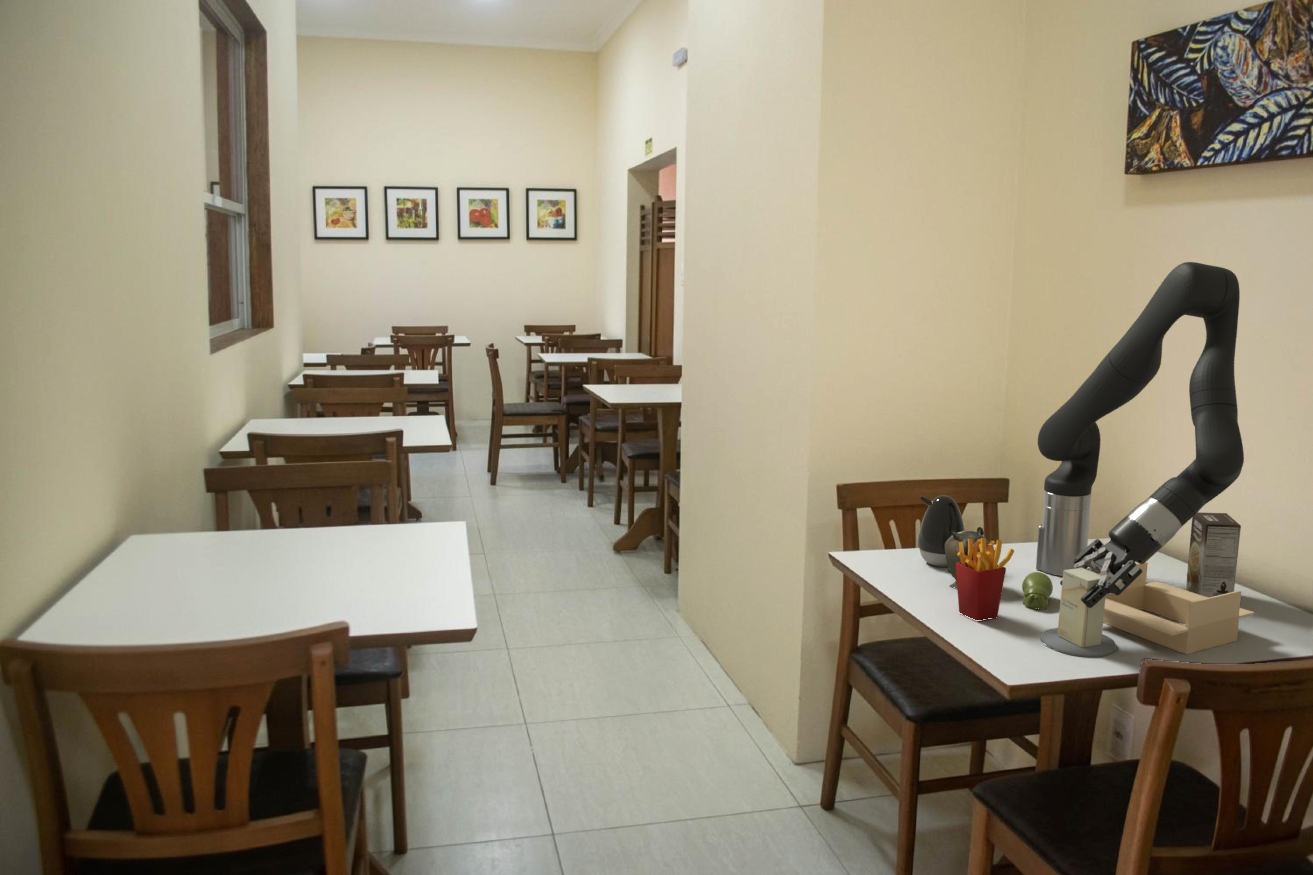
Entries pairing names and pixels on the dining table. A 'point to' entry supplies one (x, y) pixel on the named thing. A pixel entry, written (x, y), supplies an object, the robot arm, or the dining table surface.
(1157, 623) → the carton
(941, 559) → the dark grey rounded figure
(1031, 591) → the pear
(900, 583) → the dining table surface
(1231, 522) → the coffee box
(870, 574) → the dining table surface
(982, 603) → the french fries
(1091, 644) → the skincare box
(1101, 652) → the coaster
